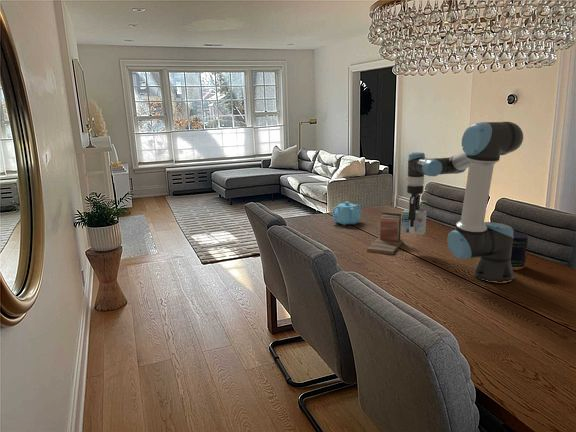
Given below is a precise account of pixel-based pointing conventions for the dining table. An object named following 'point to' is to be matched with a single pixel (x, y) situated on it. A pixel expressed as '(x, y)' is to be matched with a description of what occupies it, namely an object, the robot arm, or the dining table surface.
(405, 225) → the light bulb box
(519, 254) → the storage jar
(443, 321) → the dining table surface
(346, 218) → the decorative pot
